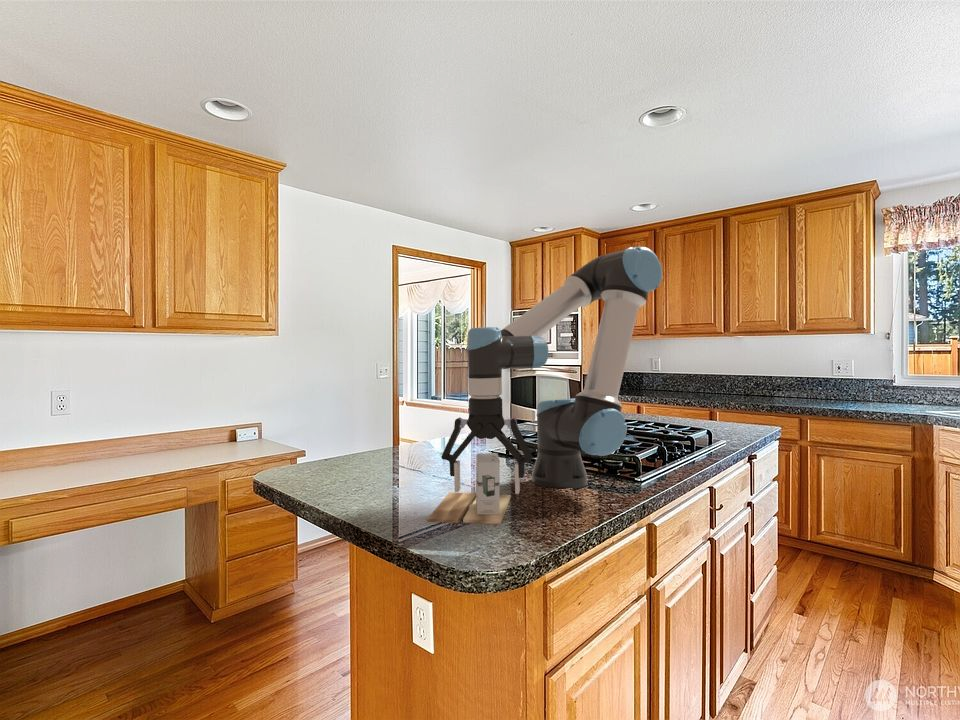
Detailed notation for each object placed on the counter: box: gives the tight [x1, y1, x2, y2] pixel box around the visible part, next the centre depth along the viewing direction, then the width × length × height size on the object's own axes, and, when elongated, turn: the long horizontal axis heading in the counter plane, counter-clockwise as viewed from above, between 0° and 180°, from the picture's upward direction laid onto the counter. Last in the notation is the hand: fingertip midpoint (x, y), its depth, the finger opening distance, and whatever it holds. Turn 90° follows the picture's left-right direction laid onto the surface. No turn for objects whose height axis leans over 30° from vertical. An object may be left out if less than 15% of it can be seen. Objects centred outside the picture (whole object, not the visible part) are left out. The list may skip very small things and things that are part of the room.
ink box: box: [475, 452, 501, 515], centre depth 112 cm, size 9×5×12 cm, turn 3°
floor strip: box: [426, 492, 476, 524], centre depth 116 cm, size 7×20×1 cm, turn 170°
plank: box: [462, 494, 512, 525], centre depth 114 cm, size 8×19×1 cm, turn 170°
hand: (487, 491), depth 112 cm, fingers open, 13 cm apart
